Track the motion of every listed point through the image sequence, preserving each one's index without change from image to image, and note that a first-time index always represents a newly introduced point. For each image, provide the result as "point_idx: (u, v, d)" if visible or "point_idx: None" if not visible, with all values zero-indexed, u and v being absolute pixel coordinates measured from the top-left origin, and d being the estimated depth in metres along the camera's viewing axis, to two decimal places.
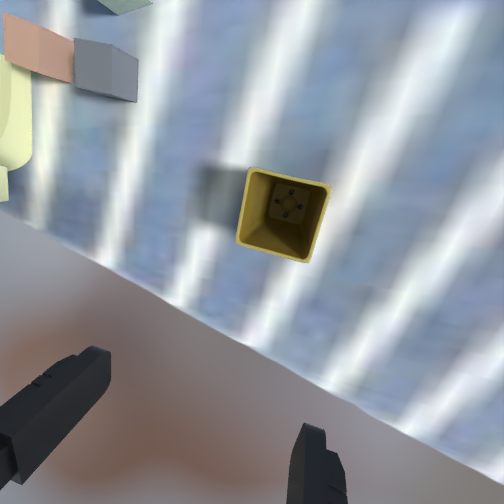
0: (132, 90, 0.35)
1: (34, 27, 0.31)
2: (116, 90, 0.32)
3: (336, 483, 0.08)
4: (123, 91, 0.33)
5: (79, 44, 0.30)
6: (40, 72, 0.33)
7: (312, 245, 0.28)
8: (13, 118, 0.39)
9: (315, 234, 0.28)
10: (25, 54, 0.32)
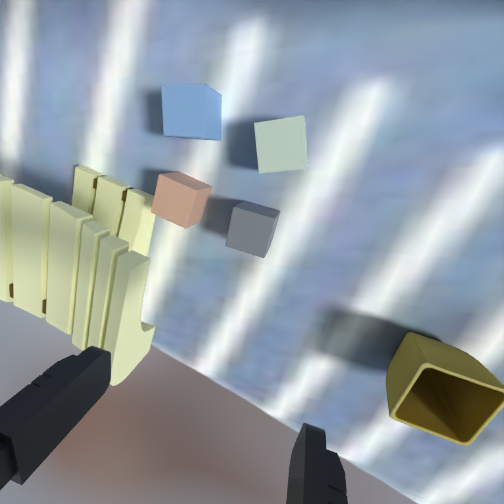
0: (271, 239, 0.35)
1: (191, 191, 0.31)
2: (266, 251, 0.32)
3: (336, 483, 0.08)
4: (268, 247, 0.33)
5: (238, 213, 0.30)
6: (187, 226, 0.33)
7: (476, 434, 0.28)
8: (135, 246, 0.39)
9: (482, 426, 0.28)
10: (175, 211, 0.32)
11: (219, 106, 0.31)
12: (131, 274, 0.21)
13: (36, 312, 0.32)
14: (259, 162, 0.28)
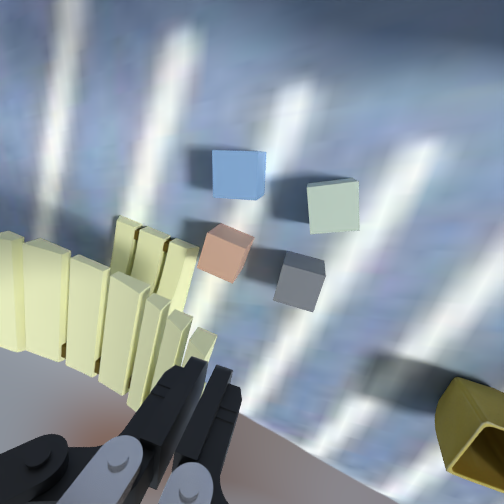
0: None
1: (239, 249, 0.31)
2: None
3: (231, 407, 0.09)
4: None
5: (287, 270, 0.31)
6: (233, 281, 0.33)
7: None
8: (176, 294, 0.39)
9: None
10: (222, 267, 0.32)
11: (264, 163, 0.31)
12: (205, 358, 0.21)
13: (88, 372, 0.32)
14: (311, 224, 0.28)
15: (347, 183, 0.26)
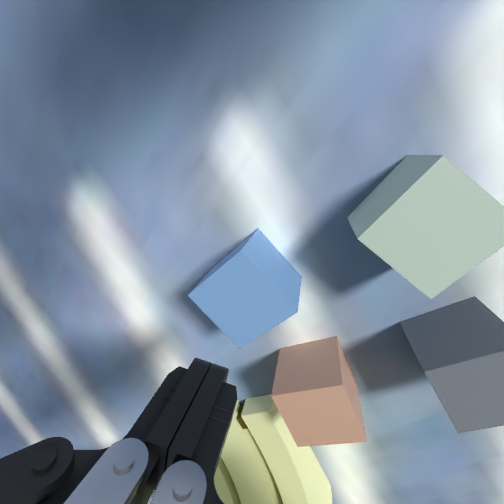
0: None
1: (334, 391, 0.17)
2: None
3: (226, 405, 0.09)
4: None
5: (441, 375, 0.15)
6: (365, 435, 0.18)
7: None
8: (301, 472, 0.25)
9: None
10: (331, 428, 0.18)
11: (268, 244, 0.19)
12: None
13: None
14: (417, 283, 0.13)
15: (424, 176, 0.12)
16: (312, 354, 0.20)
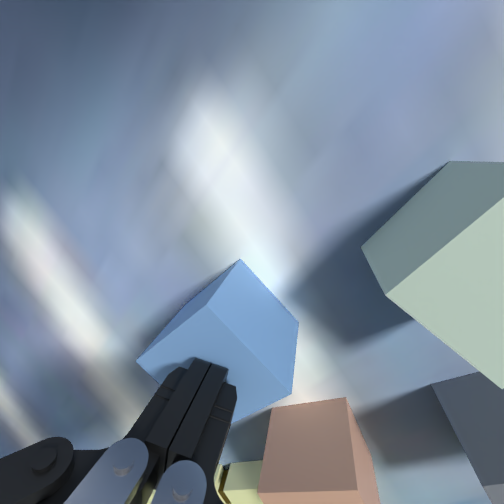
0: None
1: (346, 496, 0.12)
2: None
3: (226, 405, 0.09)
4: None
5: None
6: None
7: None
8: None
9: None
10: None
11: (252, 281, 0.14)
12: None
13: None
14: (480, 365, 0.08)
15: None
16: (313, 424, 0.15)
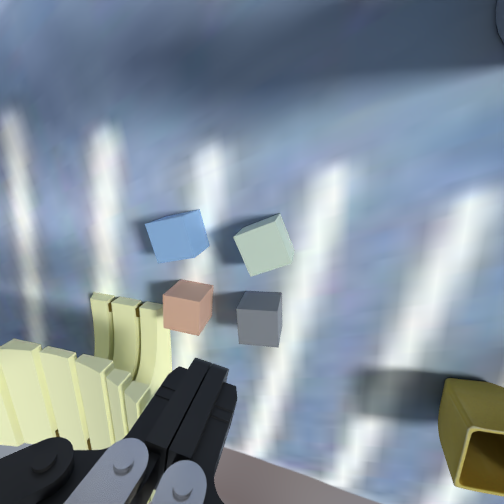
0: (281, 321, 0.35)
1: (194, 303, 0.33)
2: (278, 339, 0.33)
3: (226, 405, 0.09)
4: (280, 332, 0.34)
5: (242, 313, 0.32)
6: (199, 333, 0.34)
7: None
8: (158, 354, 0.41)
9: None
10: (185, 323, 0.34)
11: (200, 220, 0.34)
12: None
13: None
14: (248, 267, 0.30)
15: (266, 225, 0.28)
16: (195, 287, 0.36)
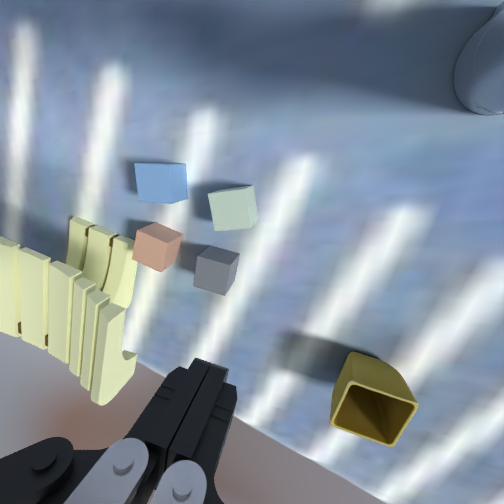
0: (233, 277, 0.41)
1: (163, 244, 0.38)
2: (227, 289, 0.39)
3: (226, 405, 0.09)
4: (229, 284, 0.40)
5: (201, 260, 0.37)
6: (161, 270, 0.40)
7: (397, 437, 0.35)
8: (122, 283, 0.46)
9: (401, 431, 0.34)
10: (151, 259, 0.39)
11: (184, 173, 0.38)
12: (110, 324, 0.28)
13: (40, 345, 0.39)
14: (214, 222, 0.35)
15: (237, 190, 0.33)
16: (167, 231, 0.41)
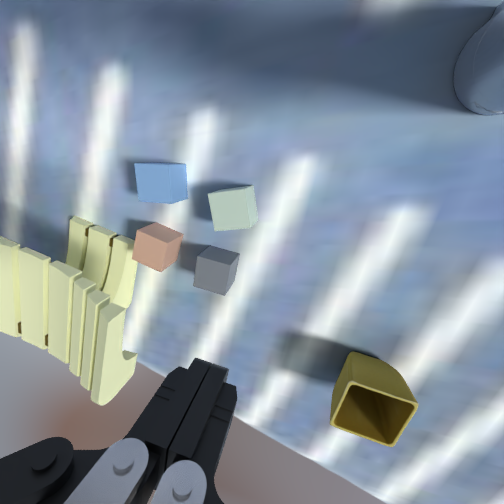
0: (233, 277, 0.42)
1: (163, 244, 0.38)
2: (227, 289, 0.39)
3: (226, 405, 0.09)
4: (229, 284, 0.40)
5: (201, 260, 0.37)
6: (161, 270, 0.40)
7: (397, 437, 0.35)
8: (122, 283, 0.46)
9: (401, 431, 0.34)
10: (151, 259, 0.39)
11: (184, 173, 0.38)
12: (110, 324, 0.28)
13: (40, 345, 0.39)
14: (214, 222, 0.35)
15: (237, 190, 0.33)
16: (167, 231, 0.41)
